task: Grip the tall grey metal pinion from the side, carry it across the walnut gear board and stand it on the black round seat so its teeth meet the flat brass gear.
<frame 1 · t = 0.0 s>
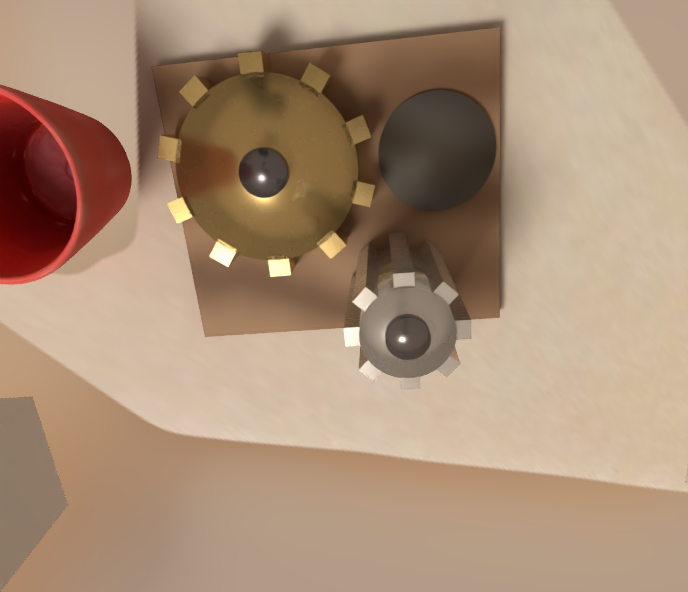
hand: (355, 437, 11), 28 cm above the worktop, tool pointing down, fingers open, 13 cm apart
gear board: (336, 197, 37), on the worktop
flower pot: (82, 169, 38), on the worktop
brass gear: (273, 167, 35), resting on gear board
grey pinion: (399, 278, 38), point 1 cm above the worktop, touching gear board
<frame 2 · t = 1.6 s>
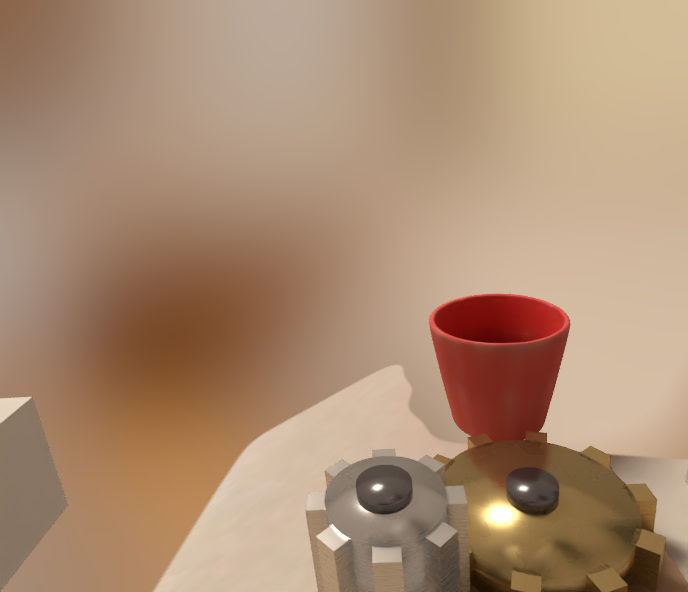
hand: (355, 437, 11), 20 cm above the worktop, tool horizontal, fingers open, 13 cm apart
flower pot: (497, 419, 46), on the worktop
brass gear: (531, 529, 33), resting on gear board
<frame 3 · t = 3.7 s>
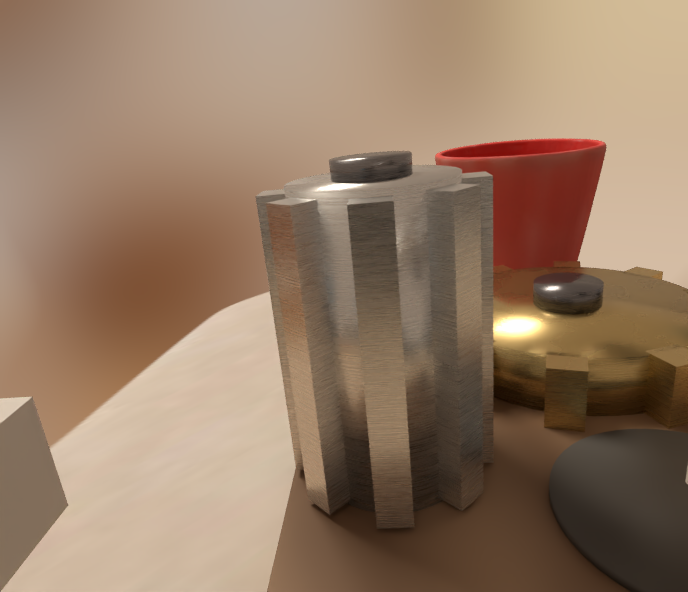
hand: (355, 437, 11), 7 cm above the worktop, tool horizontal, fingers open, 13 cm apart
gear board: (534, 416, 22), on the worktop
flower pot: (515, 283, 39), on the worktop
brass gear: (564, 350, 25), resting on gear board
grey pinion: (393, 461, 19), point 1 cm above the worktop, touching gear board
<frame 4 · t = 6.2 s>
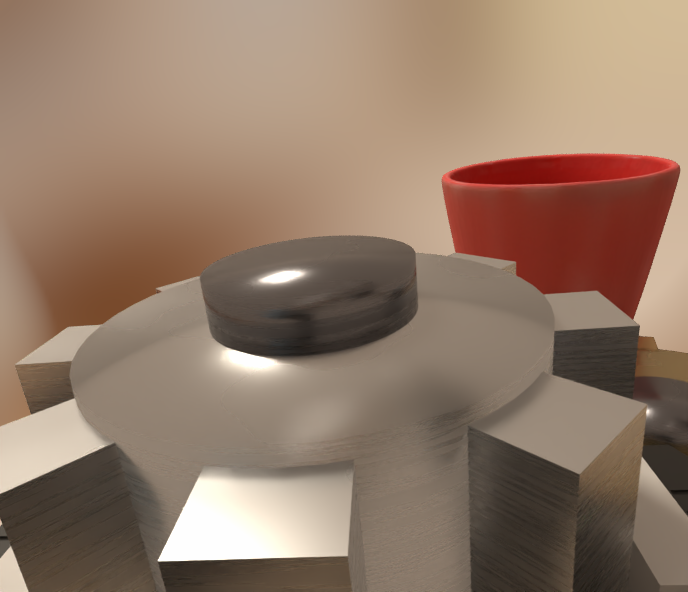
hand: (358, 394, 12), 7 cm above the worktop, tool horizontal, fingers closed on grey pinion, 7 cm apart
flower pot: (546, 344, 30), on the worktop
brass gear: (653, 500, 16), resting on gear board
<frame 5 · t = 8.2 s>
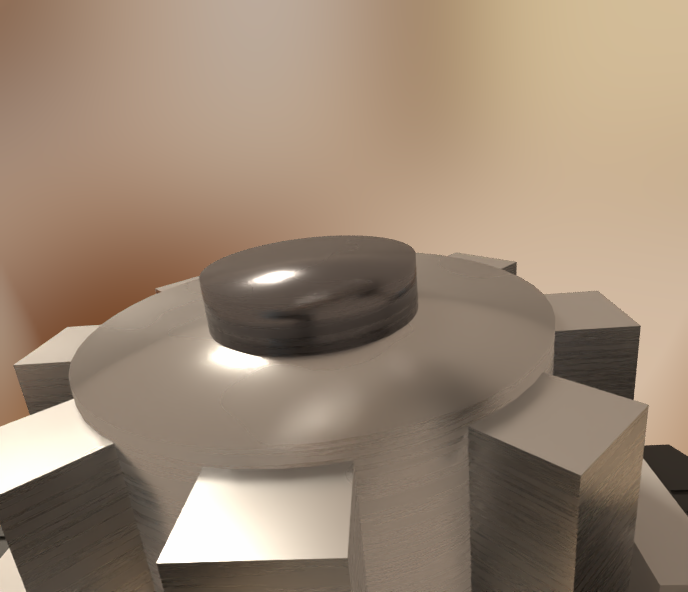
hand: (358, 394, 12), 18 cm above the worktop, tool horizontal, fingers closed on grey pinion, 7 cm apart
when the fingers open (9 cm above the worktop, at t = 10.6 s): grey pinion drops 1 cm, resting on gear board.
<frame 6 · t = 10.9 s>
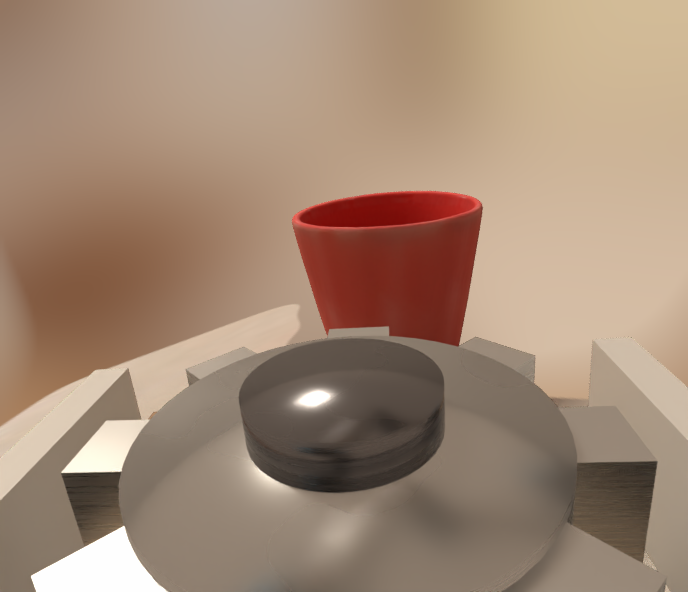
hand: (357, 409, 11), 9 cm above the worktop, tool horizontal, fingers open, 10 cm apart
flower pot: (396, 359, 34), on the worktop
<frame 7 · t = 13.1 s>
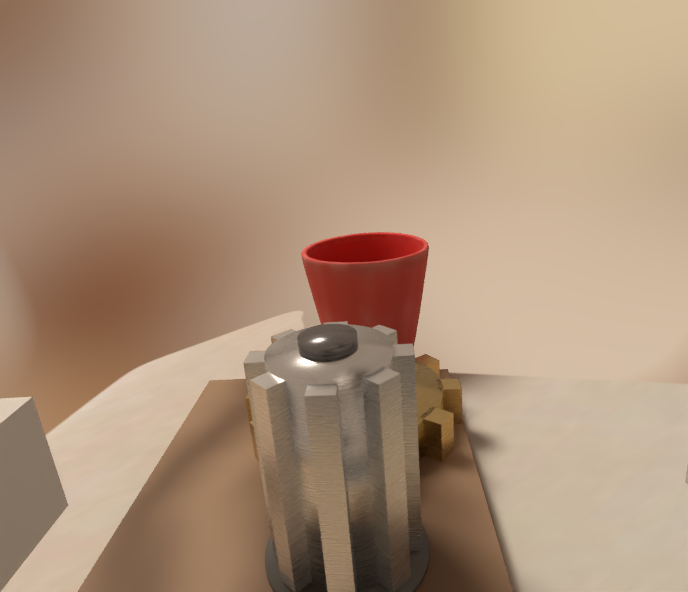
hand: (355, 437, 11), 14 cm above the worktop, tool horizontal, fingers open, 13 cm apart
gear board: (312, 474, 32), on the worktop
flower pot: (371, 350, 48), on the worktop
brass gear: (355, 422, 35), resting on gear board
grey pinion: (348, 545, 24), point 1 cm above the worktop, touching gear board
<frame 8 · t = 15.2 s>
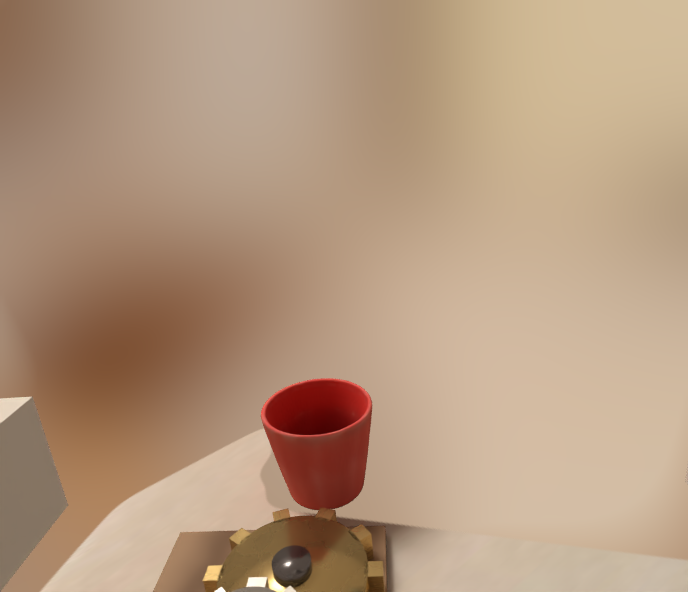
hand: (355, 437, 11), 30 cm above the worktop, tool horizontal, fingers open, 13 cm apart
flower pot: (327, 487, 55), on the worktop
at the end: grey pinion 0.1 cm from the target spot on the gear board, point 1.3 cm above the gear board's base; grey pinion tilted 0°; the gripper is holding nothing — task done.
